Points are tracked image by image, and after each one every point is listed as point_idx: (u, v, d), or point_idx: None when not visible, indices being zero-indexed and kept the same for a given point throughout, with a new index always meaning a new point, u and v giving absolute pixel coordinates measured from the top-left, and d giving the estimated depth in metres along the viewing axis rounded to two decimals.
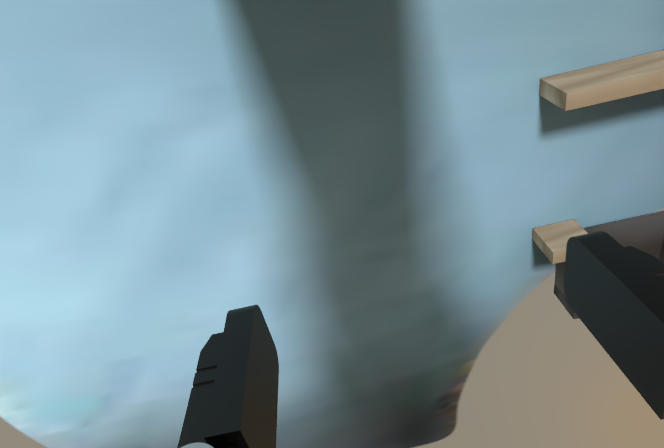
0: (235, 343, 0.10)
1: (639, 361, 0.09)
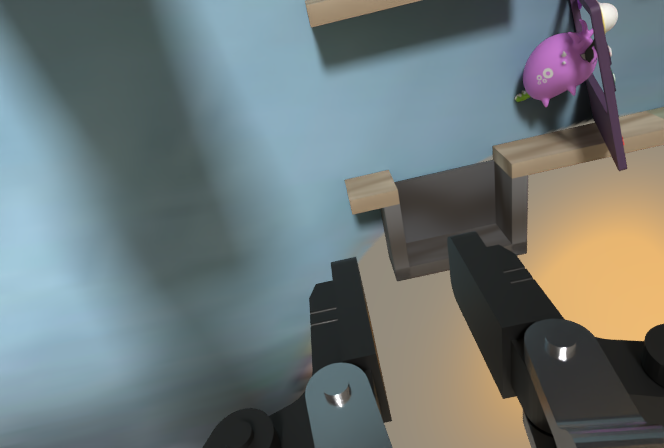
0: (347, 287, 0.11)
1: (488, 347, 0.10)
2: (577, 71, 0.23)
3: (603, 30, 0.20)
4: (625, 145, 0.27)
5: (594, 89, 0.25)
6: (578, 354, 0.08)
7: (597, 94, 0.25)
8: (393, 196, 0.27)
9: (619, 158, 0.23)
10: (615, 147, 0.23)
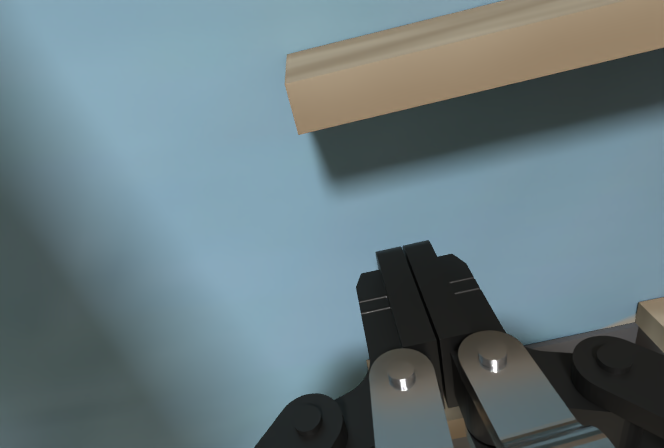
0: (397, 275, 0.11)
1: None
2: None
3: None
4: None
5: None
6: (507, 367, 0.08)
7: None
8: None
9: None
10: None
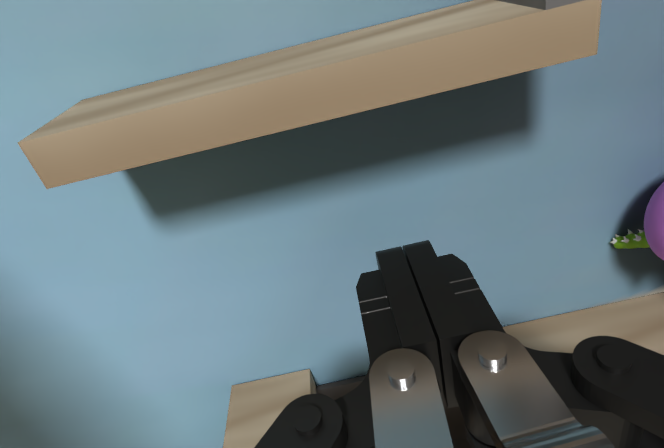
0: (397, 275, 0.11)
1: None
2: None
3: None
4: None
5: None
6: (507, 367, 0.08)
7: None
8: None
9: None
10: None
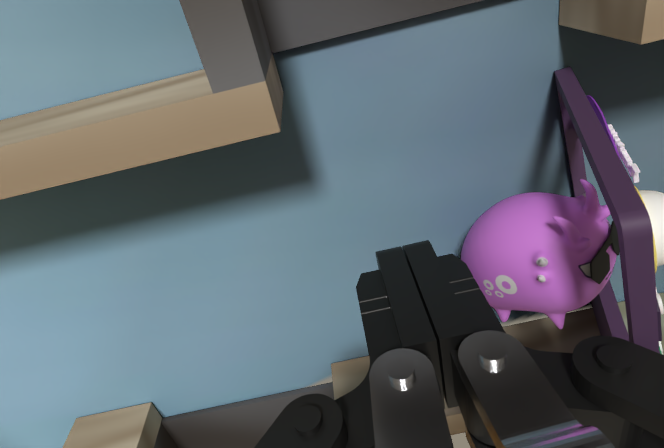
0: (397, 275, 0.11)
1: None
2: (571, 298, 0.10)
3: (653, 275, 0.07)
4: None
5: (602, 298, 0.12)
6: (507, 367, 0.08)
7: (608, 318, 0.12)
8: None
9: None
10: None
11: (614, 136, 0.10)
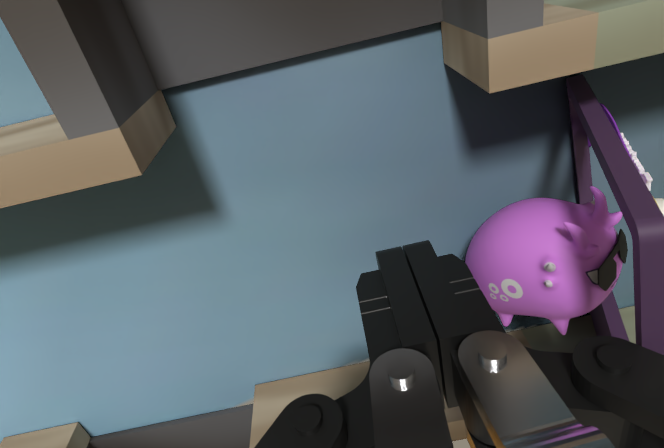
0: (397, 275, 0.11)
1: None
2: (577, 305, 0.10)
3: None
4: (462, 429, 0.14)
5: (604, 306, 0.12)
6: (507, 367, 0.08)
7: (610, 326, 0.12)
8: None
9: None
10: None
11: (625, 144, 0.10)
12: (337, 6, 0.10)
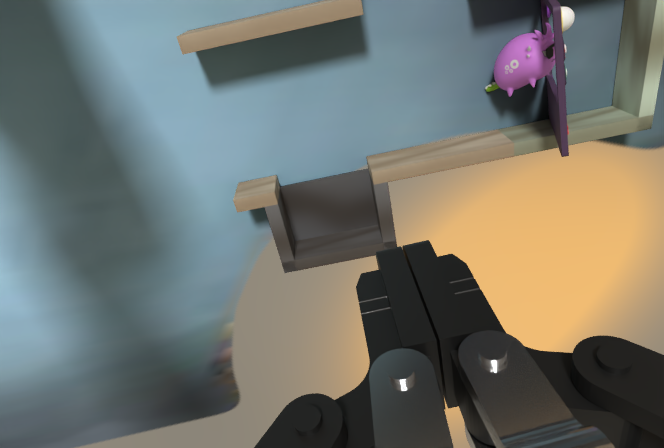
0: (397, 275, 0.11)
1: None
2: (538, 65, 0.27)
3: (561, 28, 0.24)
4: (468, 158, 0.31)
5: (551, 87, 0.29)
6: (507, 367, 0.08)
7: (553, 91, 0.29)
8: (271, 197, 0.31)
9: (563, 144, 0.27)
10: (561, 134, 0.27)
11: None
12: None
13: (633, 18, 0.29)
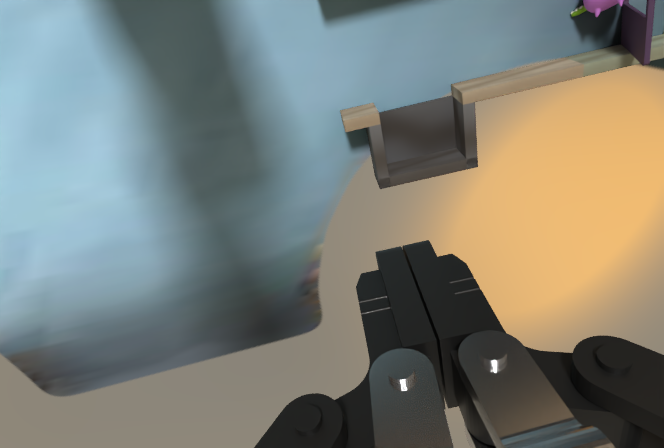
0: (397, 275, 0.11)
1: None
2: None
3: None
4: (544, 79, 0.36)
5: (632, 9, 0.34)
6: (507, 367, 0.08)
7: (635, 11, 0.34)
8: (375, 117, 0.37)
9: (646, 53, 0.33)
10: (645, 44, 0.32)
11: None
12: None
13: None
